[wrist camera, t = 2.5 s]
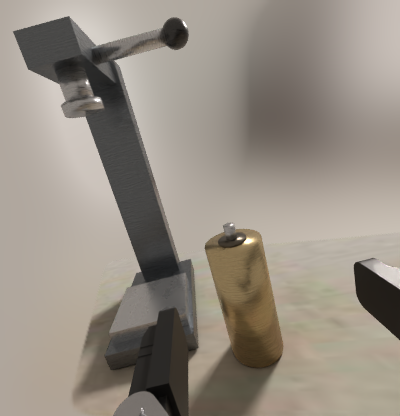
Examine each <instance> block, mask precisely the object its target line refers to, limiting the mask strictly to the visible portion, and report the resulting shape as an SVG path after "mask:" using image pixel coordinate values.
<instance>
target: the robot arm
mask: <svg viewBox="0 0 400 416" xmlns="http://www.w3.org/2000/svg"><path fill="white" fill-rule="evenodd" d="M354 275H355V285H356V294H357V297H358V300H359V302H360V303H361V305H362V306H363V307H364V308H365V309H366V310H367V311H368V312H369V313H370V314H371V315H373V316H374V317H375V318H376V319H377V320H378V321H379V322H380V323H381V324H383V325H384V326H385V327H386V328H387V329H388V330H389V331H390V332H391V333H392V334H394V335H395V336H396V337H397V338H398V339H399V340H400V269H399V268H396V267H393V266H391V267H389V266H388V265H386V264H384V263H383V262H381V261H379V260H377V259H375V258H371V259H367V260H364V261H360V262H356V263H355V264H354ZM113 416H188V346H187V340H186V336H185V332H184V329H183V326H182V323H181V320H180V317H179V313H178V310H177V308H176V307H174V308H170V309H166V310H162V311H159V314H158V319H157V325H153V326H149V327H148V329H147V331H146V332H145V334H144V335H143V337H142V340H141V345H140V350H139V353H138V359H137V362H136V366H135V370H134V375H133V379H132V383H131V387H130V392H129V396H128V398H126V399H125V400H124V401H123V402H122V403H121V404H120V405H119V407H118V408H117V410H116V411H115V413H114V415H113Z"/></svg>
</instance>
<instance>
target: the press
mask: <svg viewBox="0 0 400 416" xmlns="http://www.w3.org/2000/svg"><path fill="white" fill-rule="evenodd" d="M13 33H14V35H15V37H16V40H17V42H18V45H19V47H20V50H21V52H22V55H23V57H24V60H25V62H26V65H27V67H28V69H29V70H31V71H33V72H35V73H37V74H40V75H41V76H44V77H46V78H48V79H50V80H52V81H54V82H56V83H58V84H60V87H61V89H62V92H63V95H64V97H65V100H66V102H64V103H63V104H62V105H61V107H62V110H63V113H64V115H65V117H67V118H77V117H85V116H86V119H87V122H88V124H89V127H90V130H91V133H92V135H93V138H94V141H95V144H96V147H97V149H98V152H99V155H100V158H101V160H102V163H103V166H104V169H105V171H106V174H107V177H108V180H109V183H110V185H111V188H112V191H113V194H114V196H115V199H116V202H117V204H118V207H119V210H120V213H121V216H122V218H123V221H124V224H125V227H126V230H127V232H128V235H129V238H130V240H131V244H132V246H133V249H134V252H135V254H136V257H137V260H138V263H139V266H140V269H141V271H142V272H139V273H136V276H135V278H134V281H133V283H132V286H131V287H129V288H127V290H126V292H125V294H124V297H123V299H122V302H121V304H120V307H119V309H118V312H117V314H116V317H115V319H114V321H113V324H112V326H111V329H110V331H109V336H110V338H111V341H110V344H109V346H108V349H107V351H106V354H105V358H106V360H107V362H108V365H109V367H110V369H111V370H114V369H118V368H121V367H125V366H129V365H133V364H136V362H137V359H138V353H139V350H140V345H141V340H142V337H143V335H144V334H145V332H146V331H147V329H148V327H149V326H153V325H157V319H158V314H159V311H162V310H166V309H170V308H174V307H176V308H177V310H178V313H179V317H180V320H181V323H182V326H183V329H184V332H185V336H186V340H187V346H188V350H192V349H195V348H198V333H197V317H196V301H195V284H194V269H193V265H192V262H191V259H189V260H185V261H181V262H180V261H179V258H178V254H177V251H176V248H175V245H174V242H173V238H172V235H171V232H170V229H169V226H168V222H167V219H166V216H165V212H164V209H163V206H162V203H161V200H160V197H159V193H158V190H157V187H156V183H155V180H154V177H153V174H152V171H151V167H150V164H149V161H148V158H147V154H146V151H145V148H144V145H143V142H142V138H141V135H140V132H139V128H138V126H137V122H136V119H135V115H134V112H133V109H132V106H131V103H130V99H129V96H128V93H127V90H126V86H125V83H124V80H123V77H122V74H121V70H120V67H119V66H118V64H117V63H116V62H115V61H114V60H117V59H120V58H124V57H128V56H131V55H135V54H139V53H142V52H146V51H150V50H153V49H157V48H160V47H164V46H168V47H169V48H171V49H174V50H178V49H181V48H183V47H184V46H185V45H186V43H187V41H188V28H187V26H186V24H185V23H184V22H183V21H182V20H181V19H179V18H170V19H168V20H167V21H166V22H165V24H164V26H163V28H160V29H157V30H153V31H150V32H146V33H142V34H139V35H135V36H131V37H128V38H124V39H120V40H117V41H113V42H109V43H106V44H102V45H98V46H96V45H95V44H94V43H93V42H92V41H91V40H90V39H89V37H88V36H87V35H86V34H85V33H84V32H83V31H82V30H81V29H80V28H79V27H78V25H77V24H76V23H75V22H74V21H73V20H72V19H71V18H70V17H69V16H68V17H64V18H61V19H57V20H54V21H50V22H46V23H42V24H39V25H35V26H31V27H28V28H24V29H21V30H17V31H14V32H13Z"/></svg>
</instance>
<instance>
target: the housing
mask: <svg viewBox="0 0 400 416" xmlns="http://www.w3.org/2000/svg"><path fill="white" fill-rule="evenodd" d="M223 228H224V232H223V233H221V234H218V235H216V236H214V237H213V238H211V239H210V240H209V241H208V242H207V243H206V245H205V251H206V254H207V258H208V262H209V265H210V269H211V273H212V276H213V280H214V284H215V287H216V291H217V294H218V298H219V302H220V305H221V309H222V313H223V316H224V320H225V324H226V327H227V331H228V334H229V338H230V342H231V345H232V349H233V352H234V355H235V357H236V358H237V359H238V360H239V361H240V362H241V363H243V364H244V365H247V366H250V367H256V368H259V367H266V366H269V365H271V364H273V363H274V362H275V361H277V360H278V358H279V357H280V356H281V354H282V351H283V341H282V336H281V331H280V326H279V321H278V316H277V311H276V306H275V301H274V296H273V292H272V287H271V282H270V277H269V272H268V267H267V262H266V257H265V252H264V247H263V242H262V238H261V235H260V233H259V232H257V231H255V230H250V229H236V230H235V226H234V223H227V224H225V225H223Z"/></svg>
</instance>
